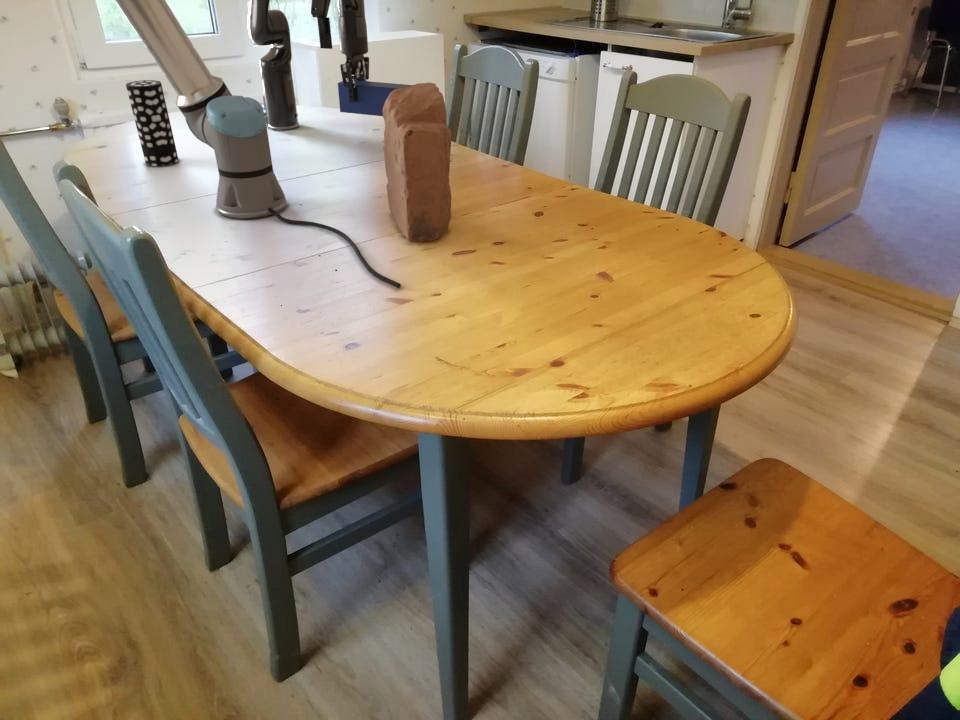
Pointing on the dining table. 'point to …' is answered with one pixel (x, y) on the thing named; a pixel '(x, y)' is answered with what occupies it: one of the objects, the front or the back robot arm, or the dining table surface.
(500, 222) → the dining table surface
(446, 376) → the dining table surface
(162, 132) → the black spotted cylinder
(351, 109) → the bar
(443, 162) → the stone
